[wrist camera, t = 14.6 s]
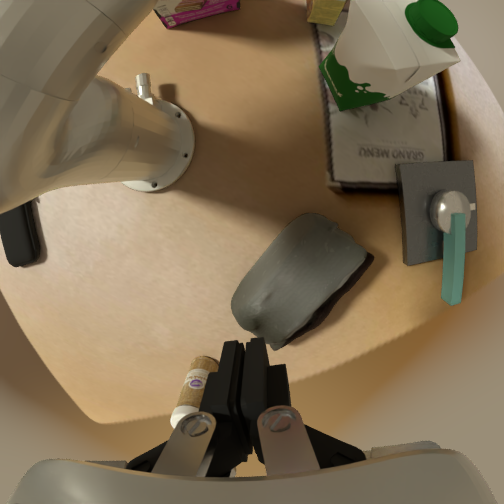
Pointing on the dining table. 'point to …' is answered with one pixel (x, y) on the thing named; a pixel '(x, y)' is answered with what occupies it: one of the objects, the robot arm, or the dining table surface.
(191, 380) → the sprinkles bottle
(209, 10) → the candy bar box
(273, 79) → the dining table surface
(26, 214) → the carrying case or bag
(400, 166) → the base
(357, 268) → the rock
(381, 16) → the milk carton
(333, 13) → the candy box
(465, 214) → the teal pivot lever
